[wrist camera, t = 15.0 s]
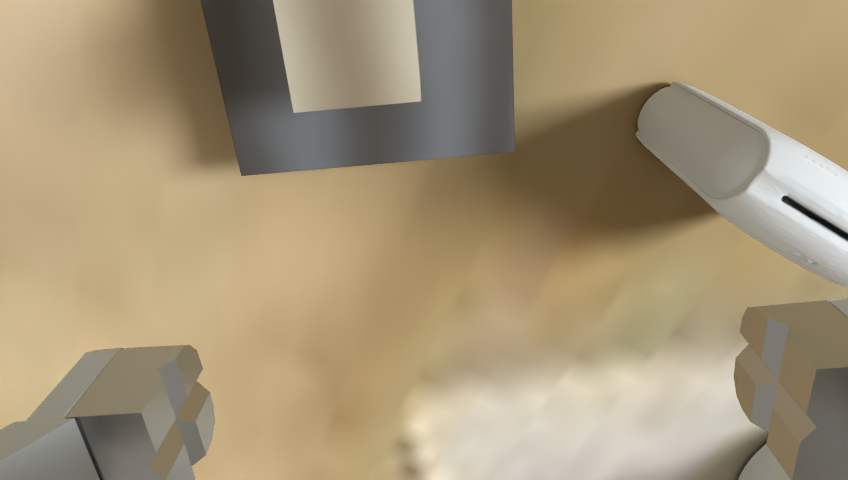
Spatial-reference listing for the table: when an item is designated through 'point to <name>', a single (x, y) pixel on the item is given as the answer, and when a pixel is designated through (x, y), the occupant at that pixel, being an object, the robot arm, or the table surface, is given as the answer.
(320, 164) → the riser block
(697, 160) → the photo printer
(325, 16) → the ash block
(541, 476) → the table surface
